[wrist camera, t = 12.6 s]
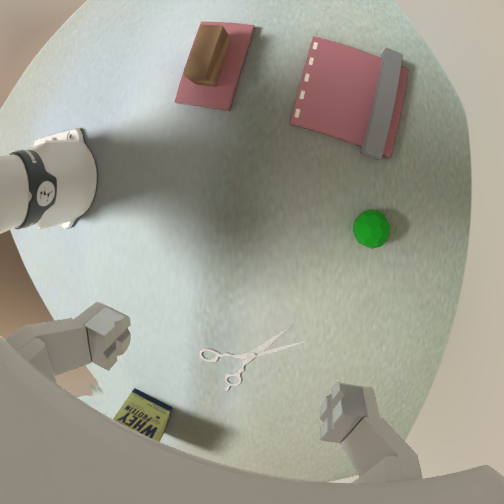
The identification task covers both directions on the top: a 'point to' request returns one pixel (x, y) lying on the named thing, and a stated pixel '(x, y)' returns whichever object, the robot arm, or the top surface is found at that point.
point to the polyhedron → (371, 229)
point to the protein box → (144, 415)
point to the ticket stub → (214, 65)
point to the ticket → (352, 96)
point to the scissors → (246, 356)
